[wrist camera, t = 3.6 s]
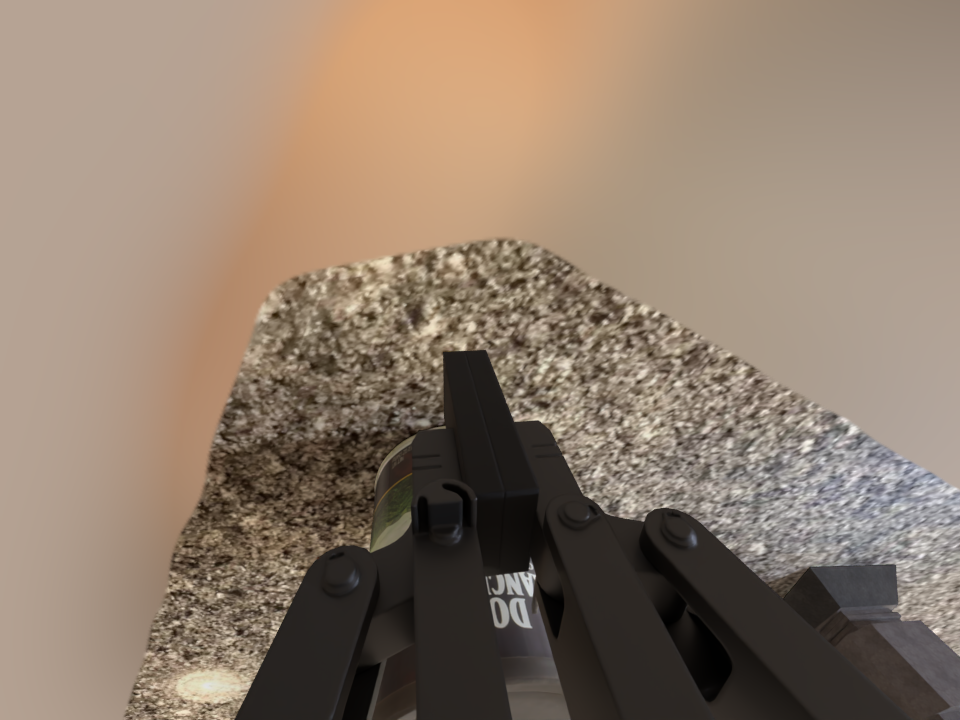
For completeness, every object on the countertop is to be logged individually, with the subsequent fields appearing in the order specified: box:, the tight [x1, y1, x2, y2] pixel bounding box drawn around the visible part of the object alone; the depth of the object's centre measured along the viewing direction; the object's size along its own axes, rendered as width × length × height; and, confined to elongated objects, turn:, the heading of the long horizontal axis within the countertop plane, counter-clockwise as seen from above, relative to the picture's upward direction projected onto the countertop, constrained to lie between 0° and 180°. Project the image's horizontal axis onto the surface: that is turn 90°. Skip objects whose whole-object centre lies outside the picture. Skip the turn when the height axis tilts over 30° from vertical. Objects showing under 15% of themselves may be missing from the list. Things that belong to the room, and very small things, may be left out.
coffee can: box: [370, 426, 571, 720], centre depth 22 cm, size 10×10×14 cm
